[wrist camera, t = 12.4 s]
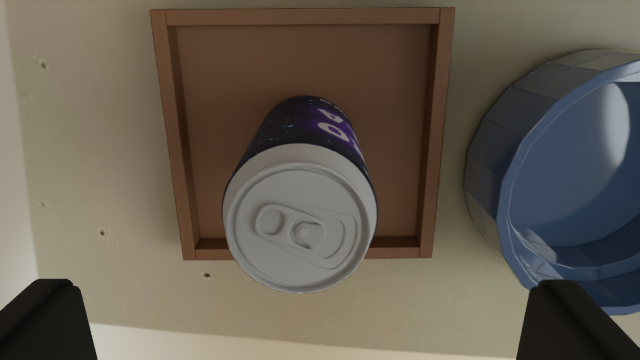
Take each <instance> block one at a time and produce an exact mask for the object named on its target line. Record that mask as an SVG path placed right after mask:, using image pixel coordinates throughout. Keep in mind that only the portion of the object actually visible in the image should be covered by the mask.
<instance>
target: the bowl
mask: <svg viewBox="0 0 640 360" xmlns="http://www.w3.org/2000/svg"><path fill="white" fill-rule="evenodd" d="M464 190H465V194H466V198H467V203H468V207H469V211H470V216H471V218H472V219H473V221H474V222H475V224H476V225H477V227H478V228H479V230H480V231H481V233H482V234H483V236H484V237H485V239H486V240H487V241H488V243H489V244H490V245H491V246H492V248H493V249H494V250H495V252H496V253H497V254H498V255H499V257H500V258H501V259H502V260H503V262H504V263H505V264H506V265H507V267H508V268H509V269H510V271H511V272H512V273H513V274H514V276H515V277H516V278H517V279H518V281H519V282H520V283H521V284H522V285H523V286H524V287H525V288H527V289H528V290H529V291H530V290H531V288H532V287H537V286H538V284H539V282H540V281H541V280H544V279H570V280H574V281H575V282H577V283H578V284H579V285H580V286H581V287H582V288H583V290H584V291H585V292H586V293H587V294H588V295H589V296H590V297H591V298H592V299H593V300H594V301H595V302H596V303H597V304H598V305H599V306H600V307H601V308H602V309H603V310H604V311H605V312H606V314H607V315H608V316H611V315H629V314H633V313H637V312H640V50H631V49H586V50H581V51H578V52H575V53H572V54H569V55H566V56H563V57H560V58H557V59H554V60H551V61H548V62H546V63H544V64H542V65H541V66H539V67H538V68H536V69H535V70H533V71H532V72H530V73H529V74H527V75H526V76H524V77H523V78H521V79H520V80H518V81H517V82H515V83H514V84H512V85H511V87H509V88H508V89H507V90H506V92H505V93H504V94H503V95H502V96H501V97H500V99H499V100H498V101H497V102H496V103H495V104H494V106H493V107H492V108H491V109H490V110H489V111H488V113H487V114H486V115H485V116H484V118H483V119H482V122H481V124H480V126H479V128H478V130H477V133H476V135H475V137H474V139H473V142H472V144H471V146H470V148H469V150H468V154H467V163H466V171H465V180H464Z"/></svg>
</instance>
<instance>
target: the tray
mask: <svg viewBox="0 0 640 360" xmlns="http://www.w3.org/2000/svg"><path fill="white" fill-rule="evenodd" d="M454 17H455V7H402V8H276V9H166V10H164V9H152V10H150V18H151V25H152V32H153V40H154V47H155V55H156V62H157V69H158V77H159V84H160V91H161V99H162V106H163V114H164V121H165V128H166V136H167V143H168V150H169V158H170V165H171V173H172V180H173V187H174V195H175V202H176V210H177V217H178V224H179V232H180V239H181V246H182V254H183V260H235V259H234V257H233V256H232V253H231V251H230V249H229V247H228V243H227V239H226V233H225V230H224V227H223V222H222V214H221V206H222V198H223V194H224V190H225V188H226V185H227V183H228V181H229V179H230V177H231V175H232V173H233V172H234V170H235V168H236V167H237V165H238V163H239V161H240V160H241V158H242V156H243V155H244V153H245V151H246V149H247V148H248V146H249V144H250V142H251V141H252V139H253V137H254V136H255V134H256V132H257V130H258V129H259V127H260V125H261V123H262V122H263V120H264V118H265V117H266V115H267V114H268V113H269V112H270V111H271V110H272V109H273V108H274V107H275V106H276V105H277V104H279V103H281V102H282V101H284V100H286V99H289V98H292V97H296V96H303V95H309V96H317V97H321V98H324V99H326V100H328V101H330V102H332V103H334V104H335V105H336V106H338V107H339V108H340V109H341V110H342V111H343V112H344V113H345V114H346V116H347V117H348V119H349V120H350V122H351V124H352V127H353V129H354V132H355V135H356V138H357V141H358V144H359V147H360V150H361V153H362V155H363V158H364V161H365V164H366V167H367V170H368V173H369V176H370V179H371V181H372V184H373V187H374V190H375V193H376V197H377V202H378V222H377V227H376V231H375V234H374V237H373V239H372V241H371V243H370V245H369V247H368V250H367V252H366V255H365V257H364V258H363V259H388V258H432V249H433V239H434V228H435V218H436V207H437V197H438V186H439V176H440V165H441V155H442V144H443V133H444V123H445V112H446V102H447V91H448V81H449V70H450V60H451V49H452V39H453V28H454Z"/></svg>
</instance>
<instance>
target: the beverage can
mask: <svg viewBox="0 0 640 360" xmlns="http://www.w3.org/2000/svg"><path fill="white" fill-rule="evenodd" d="M221 214H222V222H223V227H224V230H225V233H226V239H227V243H228V247H229V249H230V251H231V253H232V256H233V257H234V259H235V260H236V262H237V264H238V265H239V266H240V267H241V268H242V269H243V271H244V272H245V273H246V274H248V275H249V276H250V277H251V278H252V279H254V280H255V281H257V282H259V283H260V284H262V285H264V286H266V287H269V288H271V289H274V290H277V291H281V292H286V293H293V294H306V293H313V292H318V291H322V290H325V289H328V288H330V287H332V286H335V285H337V284H338V283H340V282H342V281H343V280H345V279H346V278H347V277H348V276H349V275H351V274H352V273H353V272H354V271H355V270H356V268H357V267H358V266H359V265H360V263H361V262H362V260H363V258H364V257H365V255H366V252H367V250H368V247H369V245H370V243H371V241H372V239H373V237H374V234H375V231H376V227H377V222H378V202H377V197H376V193H375V190H374V187H373V184H372V181H371V179H370V176H369V173H368V170H367V167H366V164H365V161H364V158H363V155H362V153H361V150H360V147H359V144H358V141H357V138H356V135H355V132H354V129H353V127H352V124H351V122H350V120H349V119H348V117H347V116H346V114H345V113H344V112H343V111H342V110H341V109H340V108H339V107H338V106H336V105H335V104H334V103H332V102H330V101H328V100H326V99H324V98H321V97H317V96H309V95H303V96H296V97H292V98H289V99H286V100H284V101H282V102H281V103H279V104H277V105H276V106H275V107H274V108H273V109H272V110H271V111H270V112H269V113H268V114H267V115H266V117H265V118H264V120H263V122H262V123H261V125H260V127H259V129H258V130H257V132H256V134H255V136H254V137H253V139H252V141H251V142H250V144H249V146H248V148H247V149H246V151H245V153H244V155H243V156H242V158H241V160H240V161H239V163H238V165H237V167H236V168H235V170H234V172H233V173H232V175H231V177H230V179H229V181H228V183H227V185H226V188H225V190H224V194H223V198H222V206H221Z"/></svg>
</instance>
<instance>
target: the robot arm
mask: <svg viewBox="0 0 640 360" xmlns="http://www.w3.org/2000/svg"><path fill="white" fill-rule="evenodd" d="M0 360H98V359H97V355H96V351H95V347H94V343H93V339H92V335H91V331H90V326H89V322H88V318H87V314H86V310H85V306H84V302H83V298H82V294H81V291H80V289H79V288H78V287H77V286H73V283H72V282H71V281H70V280H68V279H37V280H35V281H34V282H32V283H31V284H30V285H29V286H28V287H27V288H25V289H24V290H23V291H22V292H21V293H20V294H19V295H18V296H16V297H15V298H14V299H13V300H12V301H11V302H10V303H9V304H7V305H6V306H5V307H4V308H3V309H2V310H1V311H0ZM516 360H640V348H639V347H638V346H637V345H636V344H635V343H634V342H633V341H632V340H631V339H630V338H629V337H628V335H627V334H626V333H625V332H624V331H623V330H622V329H621V328H620V327H619V326H618V325H617V324H616V323H615V322H614V321H613V320H612V319H611V318H610V317H609V316H608V315H607V314H606V312H605V311H604V310H603V309H602V308H601V307H600V306H599V305H598V304H597V303H596V302H595V301H594V300H593V299H592V298H591V297H590V296H589V295H588V294H587V293H586V292H585V291H584V290H583V288H582V287H581V286H580V285H579V284H578V283H577V282H575V281H574V280H570V279H544V280H541V281H540V282H539V284H538V286H537V287H532V288H531V290H530V293H529V297H528V302H527V307H526V312H525V317H524V322H523V327H522V332H521V337H520V342H519V347H518V352H517V357H516Z"/></svg>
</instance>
